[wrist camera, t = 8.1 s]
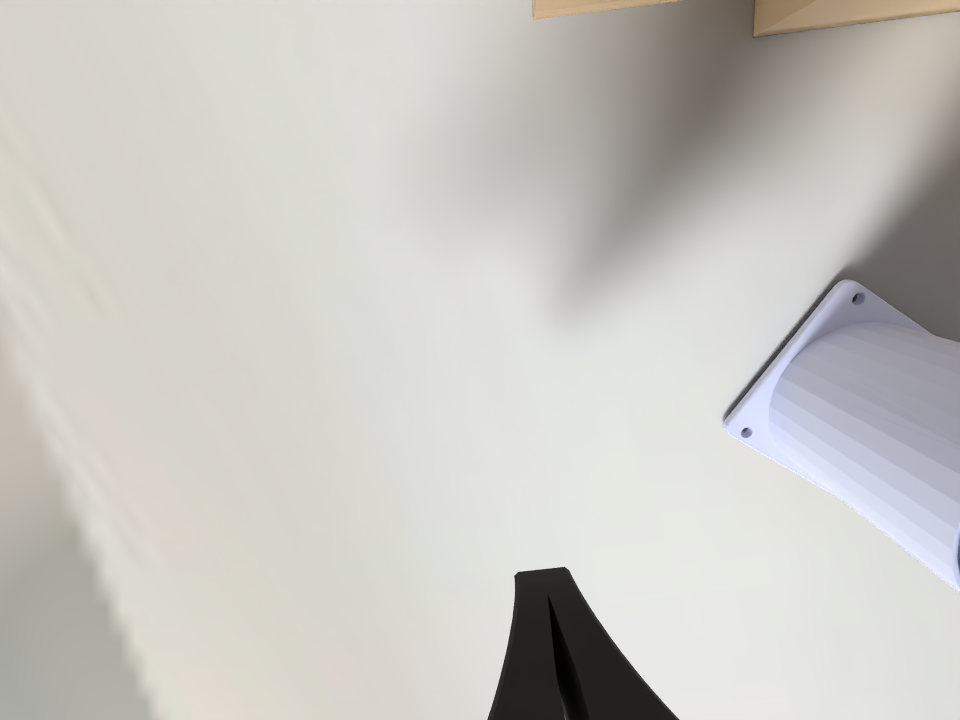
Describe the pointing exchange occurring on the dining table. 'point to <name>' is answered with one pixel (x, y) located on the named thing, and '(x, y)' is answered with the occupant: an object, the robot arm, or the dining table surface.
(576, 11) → the sliding lid
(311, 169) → the dining table surface
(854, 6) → the wooden box
